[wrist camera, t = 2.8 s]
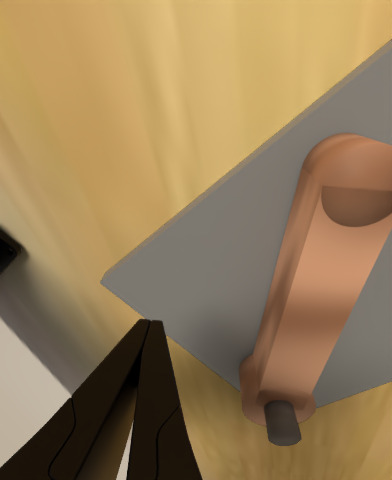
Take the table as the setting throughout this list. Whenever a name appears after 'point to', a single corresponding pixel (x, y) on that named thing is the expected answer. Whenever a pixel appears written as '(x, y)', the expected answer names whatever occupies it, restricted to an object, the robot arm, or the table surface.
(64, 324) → the table surface
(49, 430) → the robot arm
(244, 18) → the table surface
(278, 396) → the link
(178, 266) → the board
